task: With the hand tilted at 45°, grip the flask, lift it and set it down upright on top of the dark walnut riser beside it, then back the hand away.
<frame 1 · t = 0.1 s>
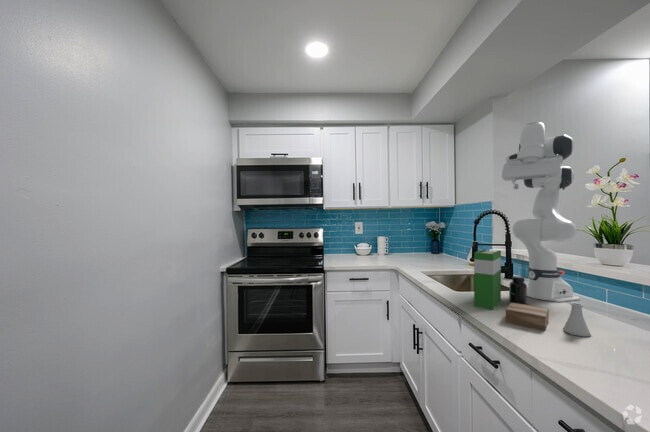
hand: (529, 187, 119), 52 cm above the worktop, tool tilted 20°, fingers open, 8 cm apart
flask: (576, 333, 100), on the worktop
supplement bottle: (517, 303, 136), on the worktop
walnut riser: (527, 322, 110), on the worktop
hardback book: (487, 303, 134), on the worktop
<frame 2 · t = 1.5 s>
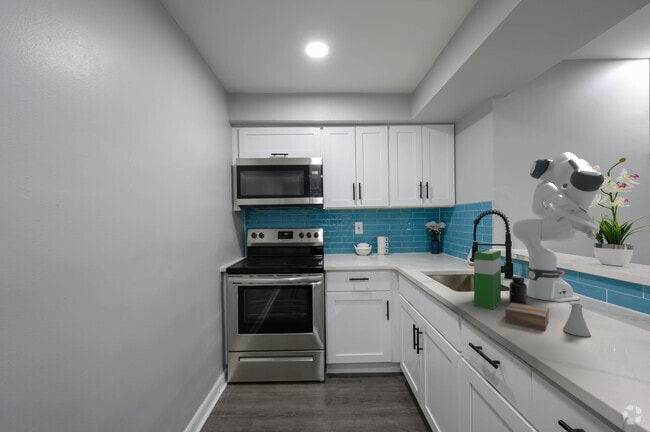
hand: (582, 233, 104), 34 cm above the worktop, tool tilted 55°, fingers open, 8 cm apart
nothing on the worktop moved.
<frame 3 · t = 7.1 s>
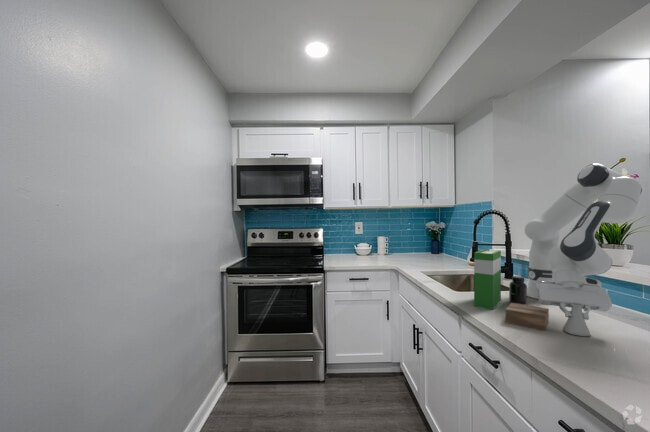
hand: (577, 317, 100), 5 cm above the worktop, tool tilted 45°, fingers closed on flask, 3 cm apart
flask: (576, 333, 100), on the worktop, touching gripper
everything else where it was.
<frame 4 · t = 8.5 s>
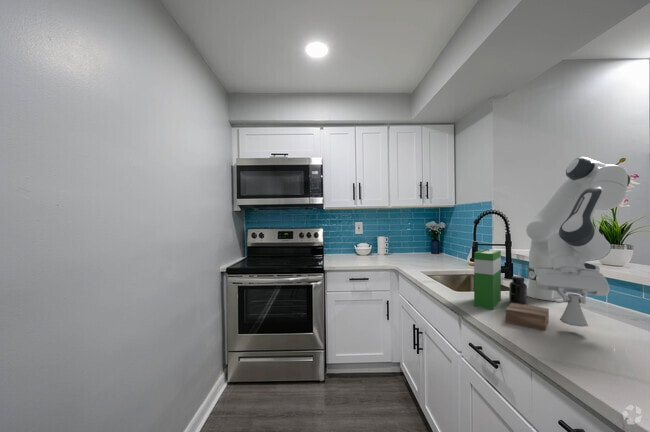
hand: (574, 302, 100), 11 cm above the worktop, tool tilted 45°, fingers closed on flask, 3 cm apart
flask: (573, 324, 101), point 3 cm above the worktop, touching gripper
everything else where it was.
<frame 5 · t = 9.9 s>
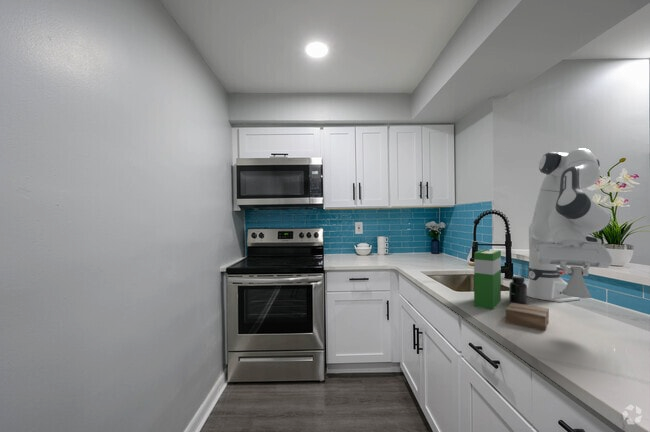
hand: (577, 274, 100), 20 cm above the worktop, tool tilted 45°, fingers closed on flask, 3 cm apart
flask: (576, 296, 100), point 12 cm above the worktop, touching gripper
everything else where it was.
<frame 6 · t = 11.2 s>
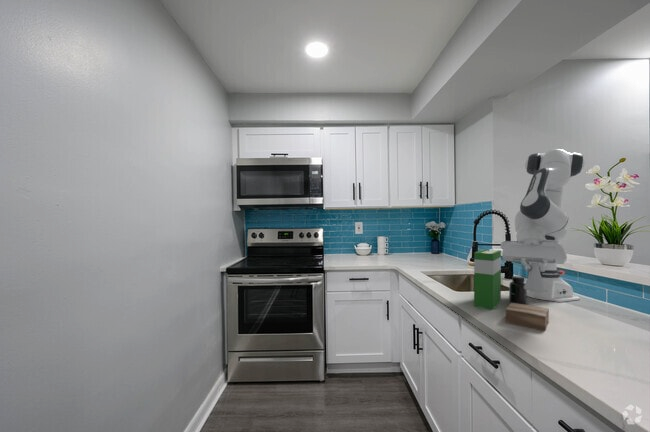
hand: (535, 270, 108), 20 cm above the worktop, tool tilted 45°, fingers closed on flask, 3 cm apart
flask: (535, 290, 109), point 12 cm above the worktop, touching gripper
everything else where it was.
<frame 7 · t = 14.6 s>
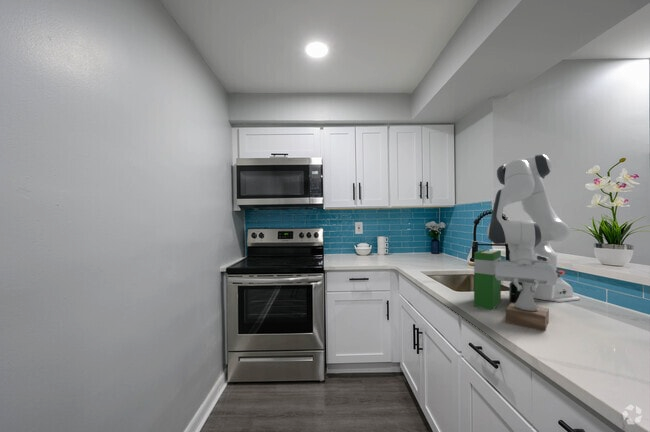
hand: (526, 291, 110), 12 cm above the worktop, tool tilted 45°, fingers closed on flask, 3 cm apart
flask: (525, 309, 111), point 5 cm above the worktop, touching gripper, walnut riser
everything else where it was.
when the fingers open (12 cm above the worktop, at t = 14.6 s): flask stays where it is, resting on walnut riser.
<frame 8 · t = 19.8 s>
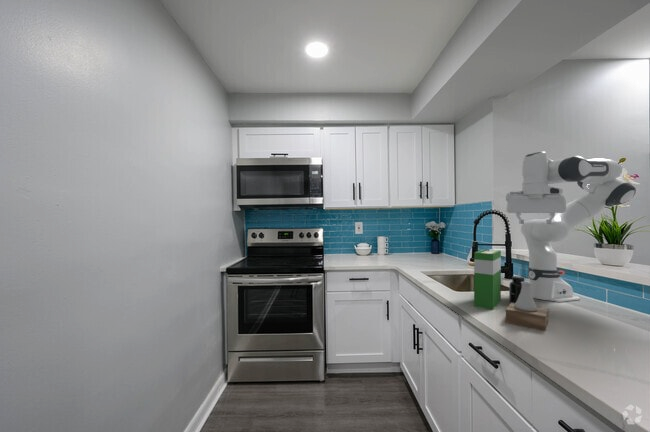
hand: (534, 223, 122), 37 cm above the worktop, tool pointing down, fingers open, 8 cm apart
flask: (525, 309, 111), point 5 cm above the worktop, touching walnut riser
everything else where it was.
at the end: flask inside the target area on the walnut riser (0.4 cm from its centre), point 4.8 cm above the walnut riser's base; flask tilted 0°; the gripper is holding nothing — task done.
